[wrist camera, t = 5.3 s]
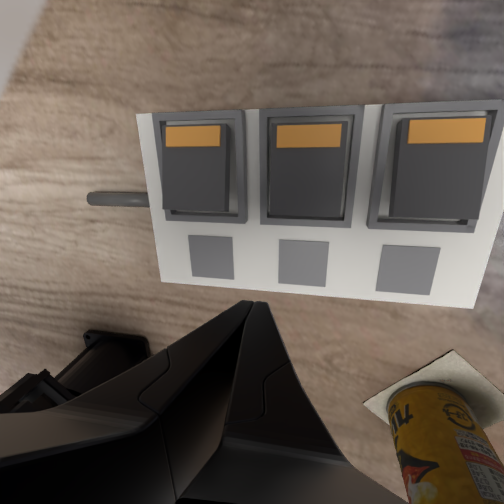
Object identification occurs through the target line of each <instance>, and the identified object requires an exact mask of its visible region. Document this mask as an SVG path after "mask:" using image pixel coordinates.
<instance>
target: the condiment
mask: <svg viewBox="0 0 504 504" xmlns="http://www.w3.org/2000/svg"><path fill="white" fill-rule="evenodd" d="M440 380H444V382H442V381H440ZM446 380H451V381H446ZM363 405H364V406H366V407H367V408H368V409H369V410H371V411H372V412H373V413H375V414H376V415H377V416H378V417H380V418H381V419H382V420H384V421H385V422H386V423H387V424H388V425H390V428H391V433H392V436H393V440H394V446H395V449H396V455H397V457H398V461H399V464H400V468H401V472H402V477H403V480H404V484H405V488H406V492H407V497H408V500H409V504H504V466H503V464H502V462H501V461H500V459H499V457H498V455H497V454H496V452H495V450H494V448H493V446H492V445H491V443H490V441H489V439H488V438H487V436H486V434H485V432H484V431H483V429H484V428H486V427H489V426H491V425H493V424H495V423H497V422H500V421H503V420H504V394H503V393H501V392H500V391H499V390H498V389H497V388H496V387H495V386H494V385H493V384H492V383H490V382H489V381H488V380H487V379H486V378H485V377H484V376H483V375H481V373H479V372H478V371H477V370H475V369H474V368H473V367H472V366H471V365H470V364H469V363H468V362H466V361H465V360H464V359H463V358H462V357H461V356H459V355H458V354H457V353H456V352H455V351H454V350H453V351H451V352H449V353H448V354H446V355H445V356H443V357H442V358H440V359H437V360H436V361H434V362H433V363H432V364H430V365H429V366H426V367H424V368H423V369H421V370H419V371H418V372H417V373H414V374H412V375H411V376H408V377H407V378H404V379H402V380H401V381H399V382H397V383H396V384H394V385H392V386H391V387H389V388H387V389H386V390H384V391H382V392H380V393H378V394H377V395H376V396H373V397H372V398H370V399H369V400H367V401H366V402H365V403H364V404H363Z"/></svg>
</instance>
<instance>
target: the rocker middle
mask: <svg viewBox="0 0 504 504" xmlns="http://www.w3.org/2000/svg"><path fill="white" fill-rule="evenodd" d="M347 131H348V121H324V122H290V123H272V126H271V172H270V215H286V216H316V217H340V214H341V202H342V190H343V178H344V167H345V155H346V143H347Z"/></svg>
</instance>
